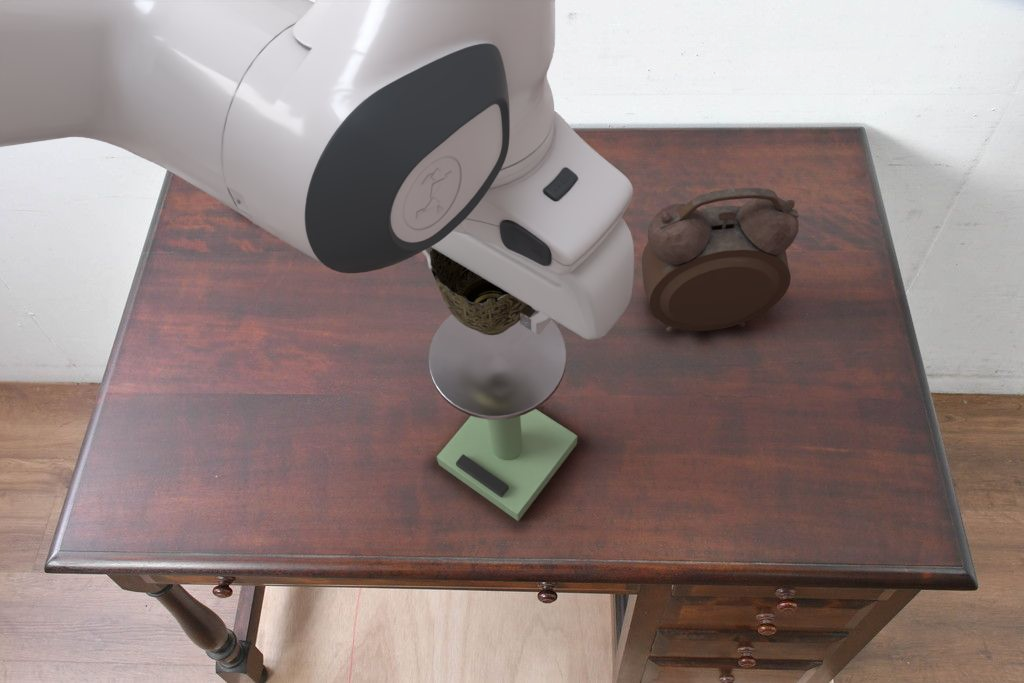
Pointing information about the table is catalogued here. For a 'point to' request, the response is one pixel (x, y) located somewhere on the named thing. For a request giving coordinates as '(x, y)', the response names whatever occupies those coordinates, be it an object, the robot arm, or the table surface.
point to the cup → (474, 297)
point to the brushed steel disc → (496, 368)
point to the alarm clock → (718, 259)
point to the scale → (508, 457)
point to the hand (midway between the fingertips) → (490, 295)
